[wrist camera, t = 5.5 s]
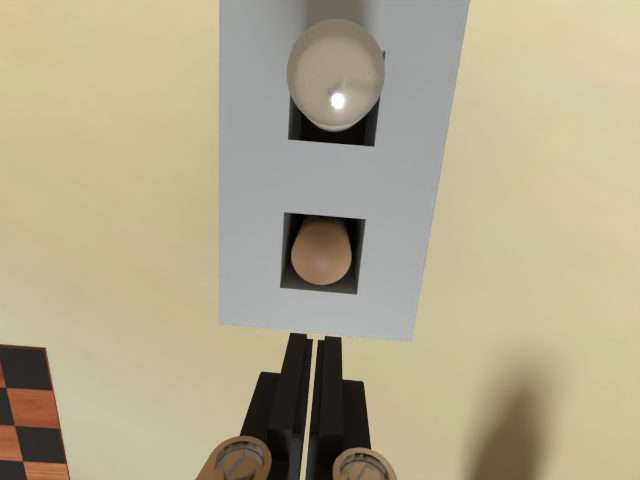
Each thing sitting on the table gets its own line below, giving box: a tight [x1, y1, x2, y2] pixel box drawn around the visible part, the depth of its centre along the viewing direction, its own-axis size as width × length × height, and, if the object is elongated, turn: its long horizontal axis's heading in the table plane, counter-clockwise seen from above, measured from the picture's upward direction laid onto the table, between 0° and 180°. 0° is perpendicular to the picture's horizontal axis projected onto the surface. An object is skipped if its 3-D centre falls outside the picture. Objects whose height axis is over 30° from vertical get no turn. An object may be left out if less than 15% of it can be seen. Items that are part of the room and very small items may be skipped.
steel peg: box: [287, 19, 385, 132], centre depth 18 cm, size 4×4×8 cm
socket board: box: [219, 0, 470, 342], centre depth 26 cm, size 14×22×8 cm, turn 175°
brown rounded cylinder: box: [291, 214, 351, 285], centre depth 27 cm, size 4×4×8 cm
